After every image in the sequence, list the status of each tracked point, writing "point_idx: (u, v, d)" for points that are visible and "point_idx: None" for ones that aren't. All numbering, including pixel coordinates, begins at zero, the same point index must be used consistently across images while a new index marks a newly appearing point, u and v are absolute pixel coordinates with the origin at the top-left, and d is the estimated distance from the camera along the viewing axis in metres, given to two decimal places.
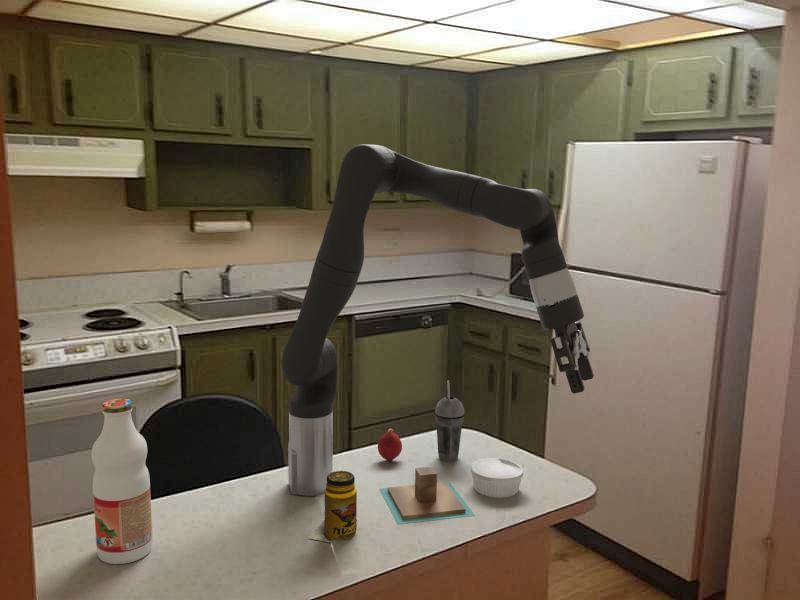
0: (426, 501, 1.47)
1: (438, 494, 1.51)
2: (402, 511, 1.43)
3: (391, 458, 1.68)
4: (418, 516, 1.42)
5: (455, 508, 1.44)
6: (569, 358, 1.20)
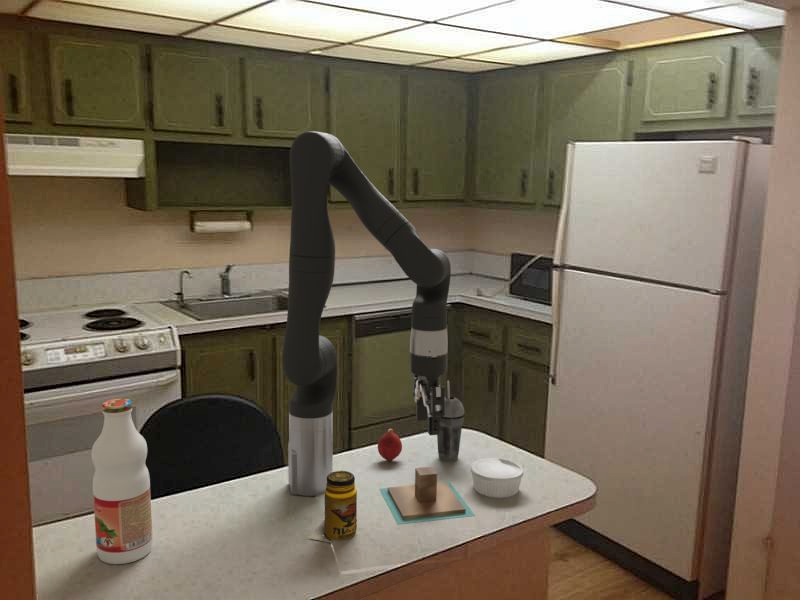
0: (426, 501, 1.47)
1: (438, 494, 1.51)
2: (402, 511, 1.43)
3: (391, 458, 1.68)
4: (418, 516, 1.42)
5: (455, 508, 1.44)
6: (443, 407, 1.38)
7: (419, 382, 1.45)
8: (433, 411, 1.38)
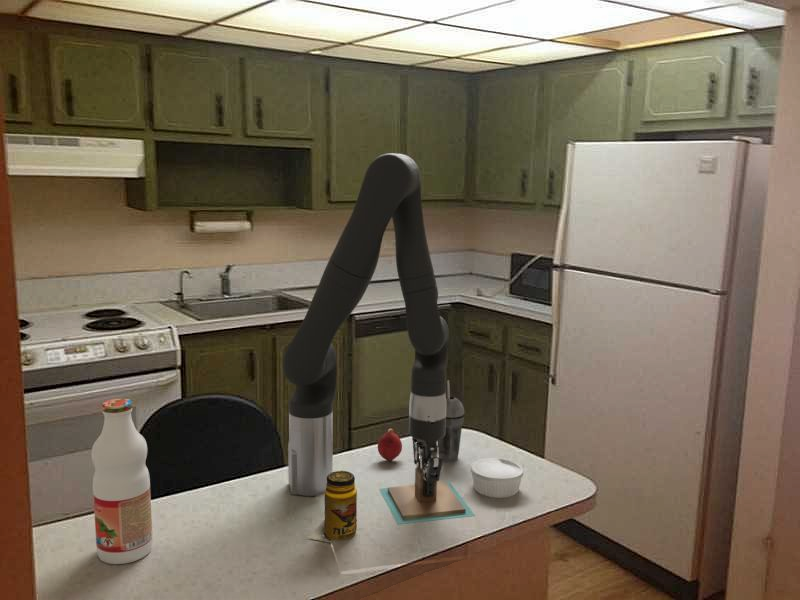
0: (426, 501, 1.47)
1: (438, 494, 1.51)
2: (402, 511, 1.43)
3: (391, 458, 1.68)
4: (418, 516, 1.42)
5: (455, 508, 1.44)
6: (439, 474, 1.43)
7: (418, 443, 1.47)
8: None
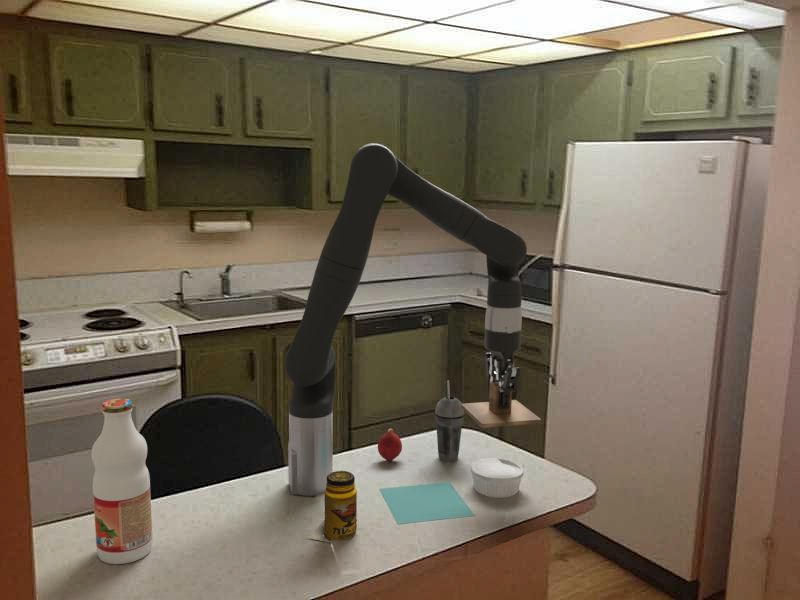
0: (501, 413, 1.51)
1: (511, 408, 1.55)
2: (480, 420, 1.47)
3: (391, 458, 1.68)
4: (496, 425, 1.46)
5: (530, 419, 1.48)
6: (515, 384, 1.47)
7: (493, 357, 1.51)
8: None
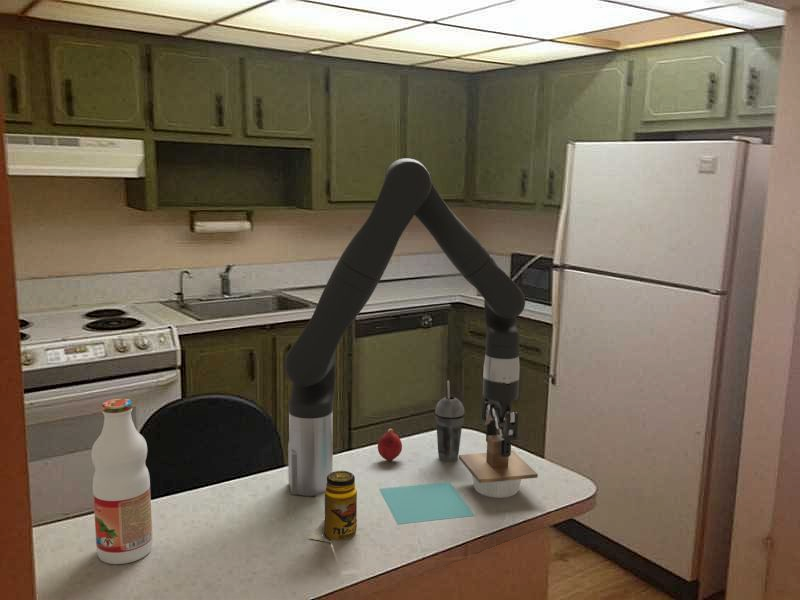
0: (498, 467, 1.53)
1: (508, 461, 1.57)
2: (477, 475, 1.49)
3: (391, 458, 1.68)
4: (493, 480, 1.48)
5: (527, 473, 1.51)
6: (516, 431, 1.47)
7: (491, 406, 1.53)
8: (507, 435, 1.47)
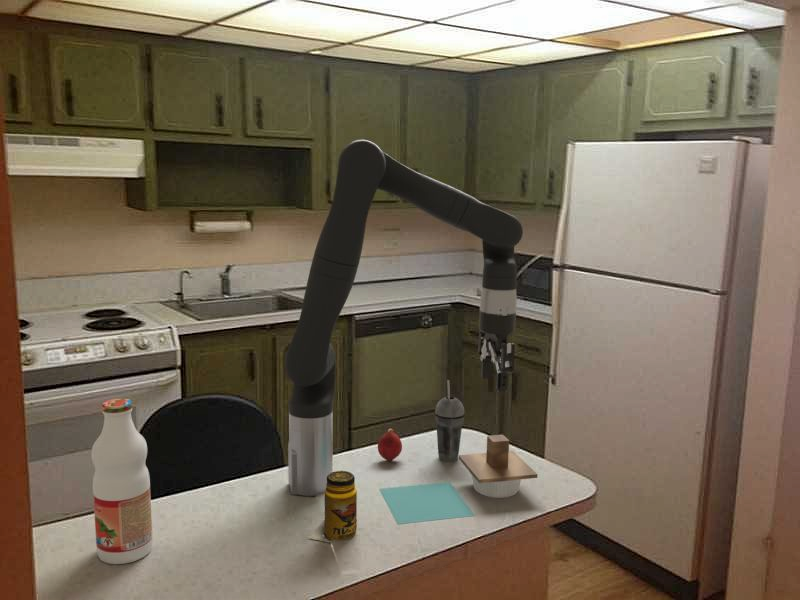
0: (498, 467, 1.53)
1: (508, 461, 1.57)
2: (477, 475, 1.49)
3: (391, 458, 1.68)
4: (493, 480, 1.48)
5: (527, 473, 1.51)
6: (513, 363, 1.45)
7: (487, 340, 1.51)
8: (503, 367, 1.44)
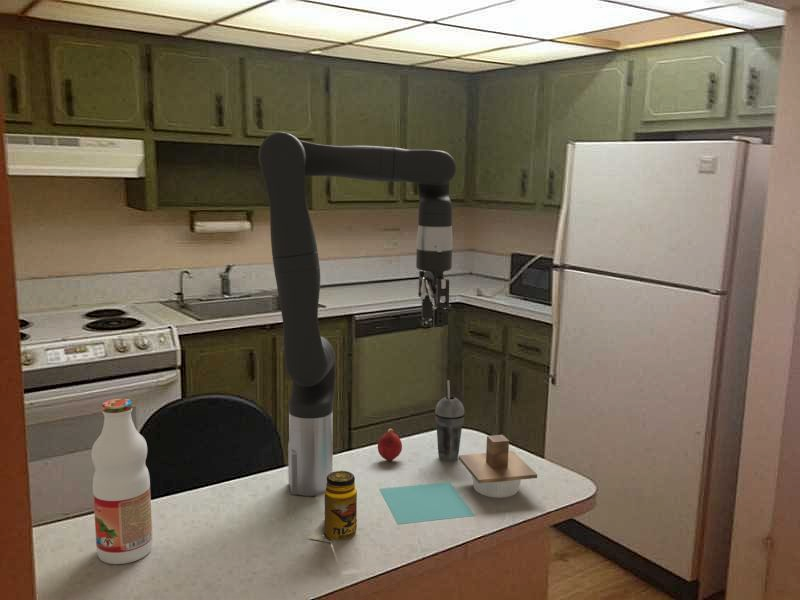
0: (498, 467, 1.53)
1: (508, 461, 1.57)
2: (477, 476, 1.49)
3: (391, 458, 1.68)
4: (493, 480, 1.48)
5: (527, 474, 1.51)
6: (448, 298, 1.46)
7: (425, 279, 1.53)
8: (438, 302, 1.46)
